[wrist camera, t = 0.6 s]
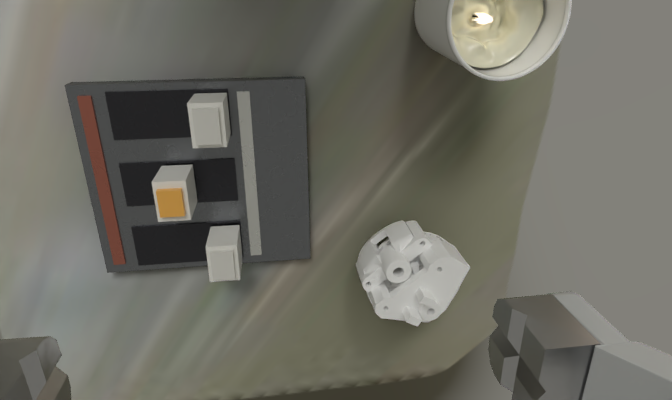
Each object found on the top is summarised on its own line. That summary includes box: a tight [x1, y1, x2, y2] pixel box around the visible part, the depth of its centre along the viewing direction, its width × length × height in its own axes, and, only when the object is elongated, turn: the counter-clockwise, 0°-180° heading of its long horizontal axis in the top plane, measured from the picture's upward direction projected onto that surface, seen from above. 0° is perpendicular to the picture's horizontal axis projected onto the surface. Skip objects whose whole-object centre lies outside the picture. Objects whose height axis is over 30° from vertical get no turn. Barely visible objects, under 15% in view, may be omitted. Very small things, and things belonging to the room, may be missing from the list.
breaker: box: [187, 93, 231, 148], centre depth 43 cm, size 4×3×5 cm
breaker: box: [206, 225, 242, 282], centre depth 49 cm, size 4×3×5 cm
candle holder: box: [414, 0, 572, 81], centre depth 41 cm, size 10×10×12 cm
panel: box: [65, 77, 310, 273], centre depth 49 cm, size 20×22×2 cm
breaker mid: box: [152, 164, 197, 222], centre depth 46 cm, size 4×3×5 cm
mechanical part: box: [356, 220, 470, 327], centre depth 52 cm, size 11×12×12 cm
